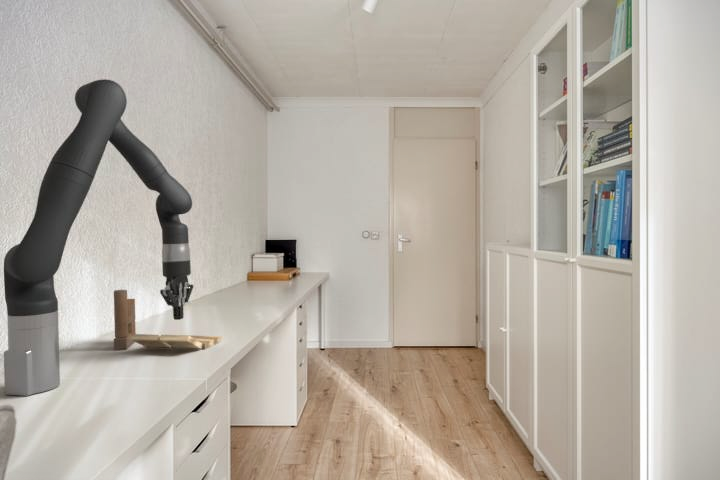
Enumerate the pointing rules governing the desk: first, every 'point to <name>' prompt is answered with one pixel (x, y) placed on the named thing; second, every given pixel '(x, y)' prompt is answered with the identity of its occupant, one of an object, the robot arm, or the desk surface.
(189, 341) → the plank
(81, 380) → the desk surface
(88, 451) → the desk surface
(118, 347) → the wooden block
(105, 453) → the desk surface
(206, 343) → the laid floor
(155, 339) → the plank
